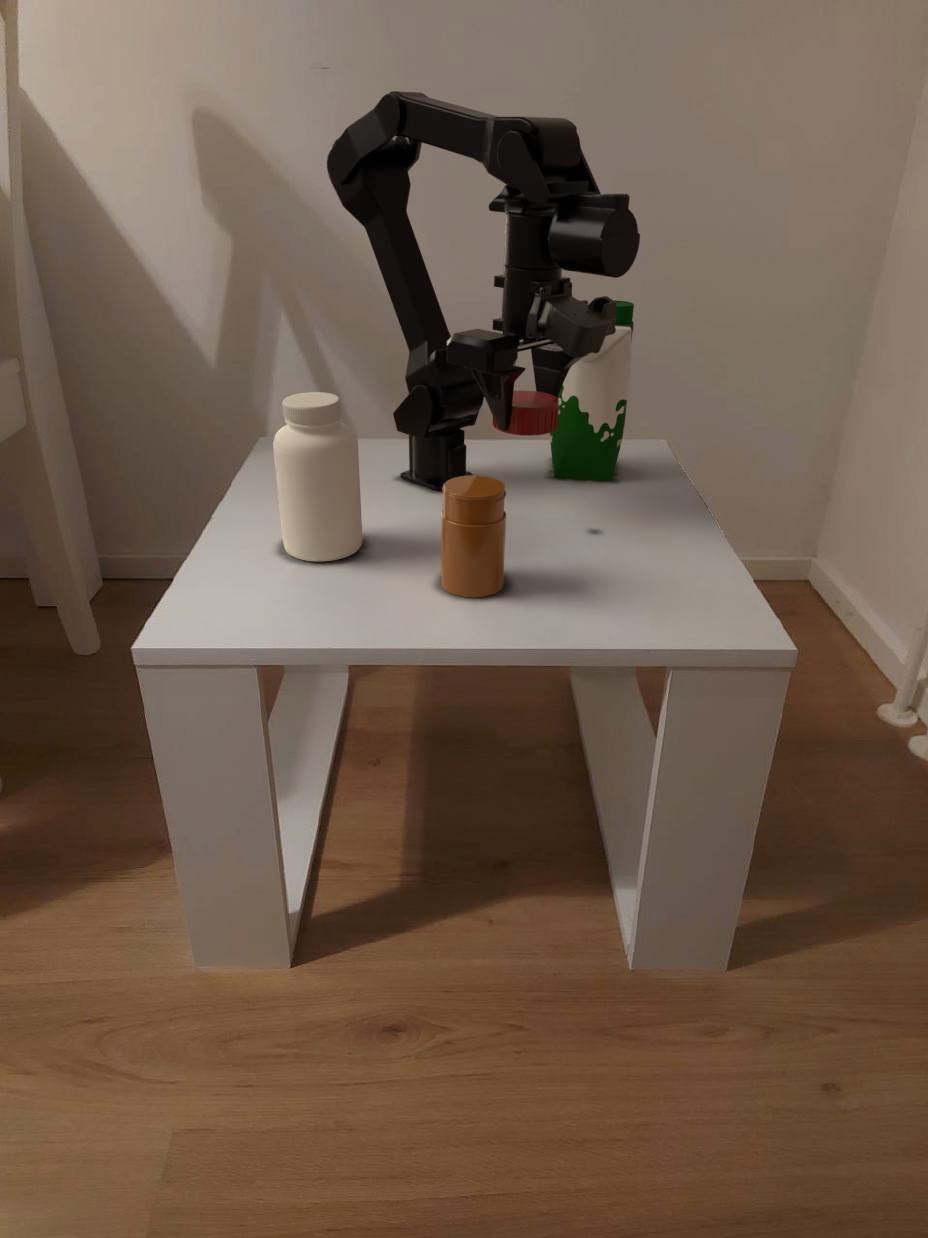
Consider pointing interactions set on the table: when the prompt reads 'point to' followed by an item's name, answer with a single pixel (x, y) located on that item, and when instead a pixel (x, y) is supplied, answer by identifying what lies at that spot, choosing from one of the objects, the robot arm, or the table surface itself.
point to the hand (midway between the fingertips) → (524, 423)
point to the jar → (473, 536)
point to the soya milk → (595, 407)
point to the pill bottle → (317, 479)
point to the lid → (532, 413)
